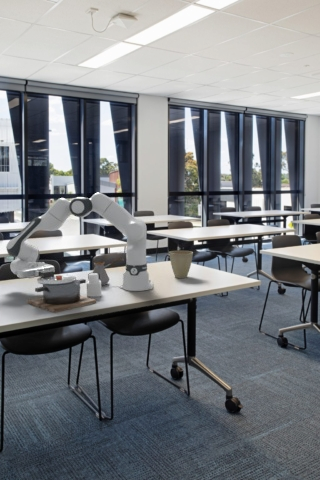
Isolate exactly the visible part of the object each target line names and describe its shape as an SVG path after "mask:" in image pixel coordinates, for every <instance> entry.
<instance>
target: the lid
mask: <svg viewBox="0 0 320 480" xmlns="http://www.w3.org/2000/svg"><path fill="white" fill-rule="evenodd" d="M76 280H77V277H76V276H74V275H69V274H55V272H54V271H51V270H45V271H39V275H38V278H37V279H36V282H37V283H38V284H40V285H43V284H45V285H60V284H68V283H72V282H74V281H76Z"/></svg>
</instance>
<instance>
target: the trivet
mask: <svg viewBox="0 0 320 480" xmlns="http://www.w3.org/2000/svg"><path fill="white" fill-rule="evenodd" d="M92 303H93V304H96V303H97V299H96V298H95V299H94V298H91V297H87V296H84V295H82V294H80V301H78V302H76V303H72V304H65V305H51V304H46V303H44V302H43V296H41V297H36V298H31V299H28V300H27V304H30V305H31V306H34V307H37V308H40V309H43V310H46V309H47V311H49V312H52V313H54V314H56V313H59V312H65V311H68V310H72V309H76V308H81V307H83V306H84V305H85V306H88V304H89V305H93V304H92Z"/></svg>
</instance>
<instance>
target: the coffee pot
mask: <svg viewBox="0 0 320 480" xmlns="http://www.w3.org/2000/svg"><path fill="white" fill-rule="evenodd" d="M120 260H122V261H124V258H123V256H122V257H120V258H117V259H114V260H113V261H111V262H110V263H109V264H106V263H105V261H96V262H93V265H94V268H93V270H92V273H93V272H96V273H99V274H100V281H101V287H103V286H106V285H107V284H108V283H109V282H110V277H109V276H108V273H107V271H106V268H107V267H109V266H110V265H114V264H115V263H117V262H118V261H120ZM105 264H106V265H105Z"/></svg>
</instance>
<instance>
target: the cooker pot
mask: <svg viewBox="0 0 320 480" xmlns="http://www.w3.org/2000/svg"><path fill="white" fill-rule="evenodd" d="M81 284H87V281H86V279H84V278H81V279H76V281H74V282H72V283H68V284H60V285H45V284H42V286H39V287H35V289H34V291H35V292H36V293H41V292H42V297H43V302H44V303H46V304H51V305H65V304H72V303H76V302H78V301H80V295H81Z"/></svg>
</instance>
